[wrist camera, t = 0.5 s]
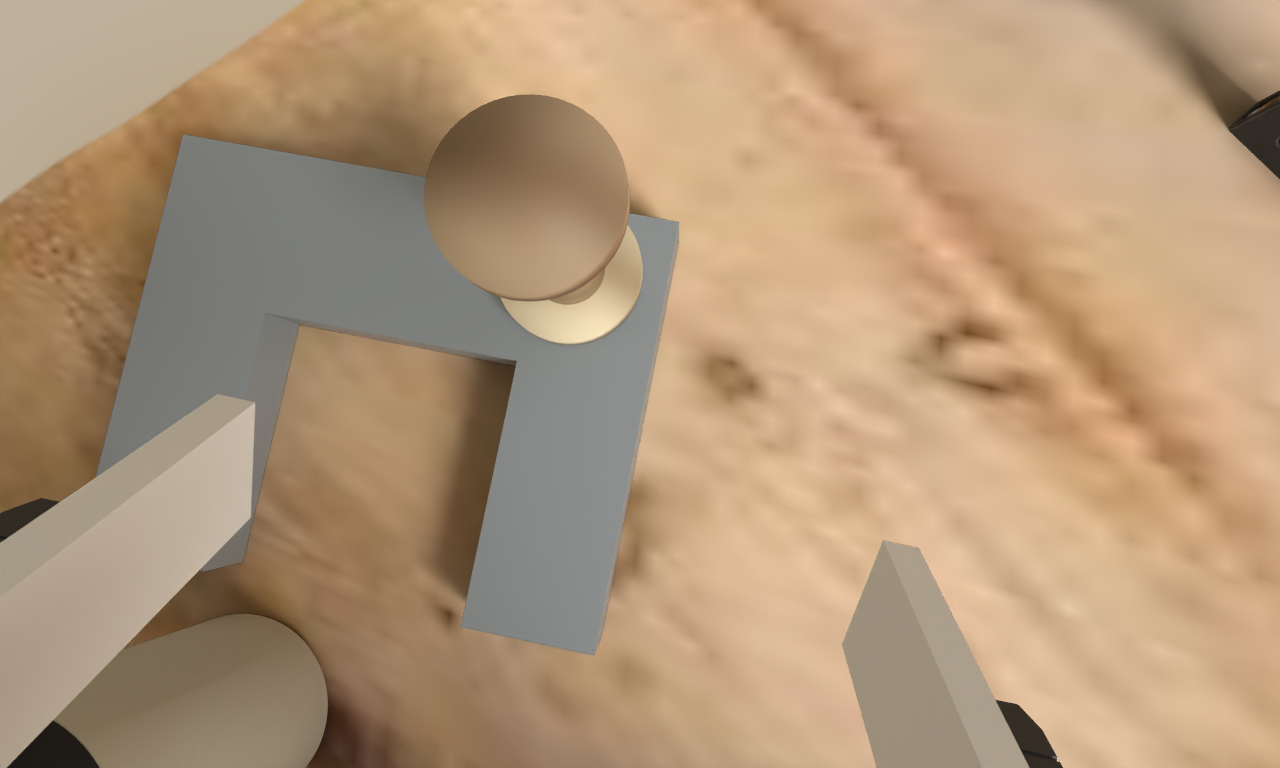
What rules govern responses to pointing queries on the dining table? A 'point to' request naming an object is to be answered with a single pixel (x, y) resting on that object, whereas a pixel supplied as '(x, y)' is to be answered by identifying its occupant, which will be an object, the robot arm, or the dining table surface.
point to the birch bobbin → (538, 216)
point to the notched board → (404, 314)
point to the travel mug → (195, 703)
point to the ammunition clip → (1262, 131)
